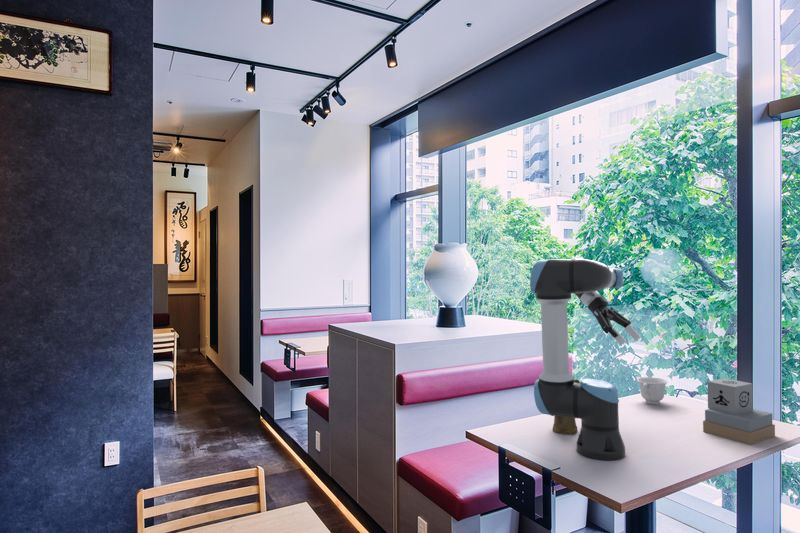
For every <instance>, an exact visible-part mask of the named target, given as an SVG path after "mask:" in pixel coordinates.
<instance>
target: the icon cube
mask: <svg viewBox="0 0 800 533" xmlns="http://www.w3.org/2000/svg"><path fill="white" fill-rule="evenodd" d="M706 384H707V409H713V410H717V411H721V412H725V413H729V414H732V415H739V414H743V413H748V412H752V411H753V409H754V399H753V398H754V395H753V394H754V393H753V392H754V391H753V388H754V387H753V383H752V382H745V381H742V380H735V379H730V378H726V377H724V378H723V377H722V378H717V379H713V380H707V382H706Z"/></svg>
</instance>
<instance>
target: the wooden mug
mask: <svg viewBox="0 0 800 533" xmlns="http://www.w3.org/2000/svg"><path fill="white" fill-rule="evenodd" d="M580 382H581V381H579V379H574V383H580ZM552 424H553V425H552V431H553V432H554V433H556V434H560V435H575V434H577V433H578V426H577V422H576V418H570V417H562V416H554V419H553V423H552Z"/></svg>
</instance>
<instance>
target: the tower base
mask: <svg viewBox="0 0 800 533" xmlns="http://www.w3.org/2000/svg"><path fill="white" fill-rule="evenodd" d="M704 419H705V420H702V422H703V423H702V431H703V433H707V434H710V435H715V436H718V437H721V438H725V439H729V440H732V441H737V442H740V443H743V444H747V445H751V446H752V445H754V444H757V443H760V442H763V441H765V440H768V439H771V438H773V437H775V436H776V427H775V426H776V425H775V423H774V424H773V413H772V412H767V411H763V410H760V409H755V408H753V411H752V412H748V413H743V414H739V415H732V414H729V413H725V412H721V411H717V410H713V409H709V408H707V409H705V410H704ZM770 437H771V438H770Z"/></svg>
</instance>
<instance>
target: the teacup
mask: <svg viewBox="0 0 800 533" xmlns="http://www.w3.org/2000/svg"><path fill="white" fill-rule="evenodd" d="M636 381H637V382H638V385H639V390H640V395H641V397H642V399H644V400H645V403H646V404H648V405H660V404H661V403H660V401H662V400H664V397H665V390H666V384H667V383H668V380H666V379H663V378H661V377H660V378H659V377H653V376H651V377H650V376H649V377H647V376H646V377H645V376H644V377H643V376H642V377H639V378H637V379H636Z"/></svg>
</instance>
